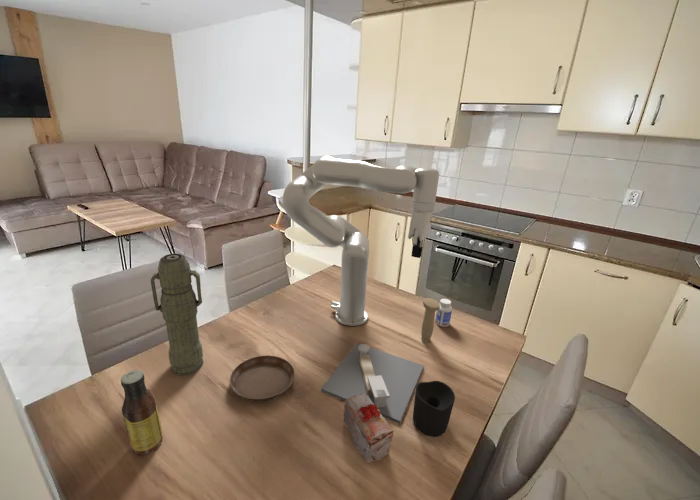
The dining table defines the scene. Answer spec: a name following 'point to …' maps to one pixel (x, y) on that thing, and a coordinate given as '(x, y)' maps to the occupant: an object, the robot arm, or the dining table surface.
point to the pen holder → (432, 407)
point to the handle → (429, 318)
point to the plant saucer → (262, 378)
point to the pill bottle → (444, 313)
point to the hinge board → (381, 366)
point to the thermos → (179, 312)
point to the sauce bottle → (140, 414)
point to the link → (366, 371)
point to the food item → (367, 427)
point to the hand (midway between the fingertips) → (416, 256)
